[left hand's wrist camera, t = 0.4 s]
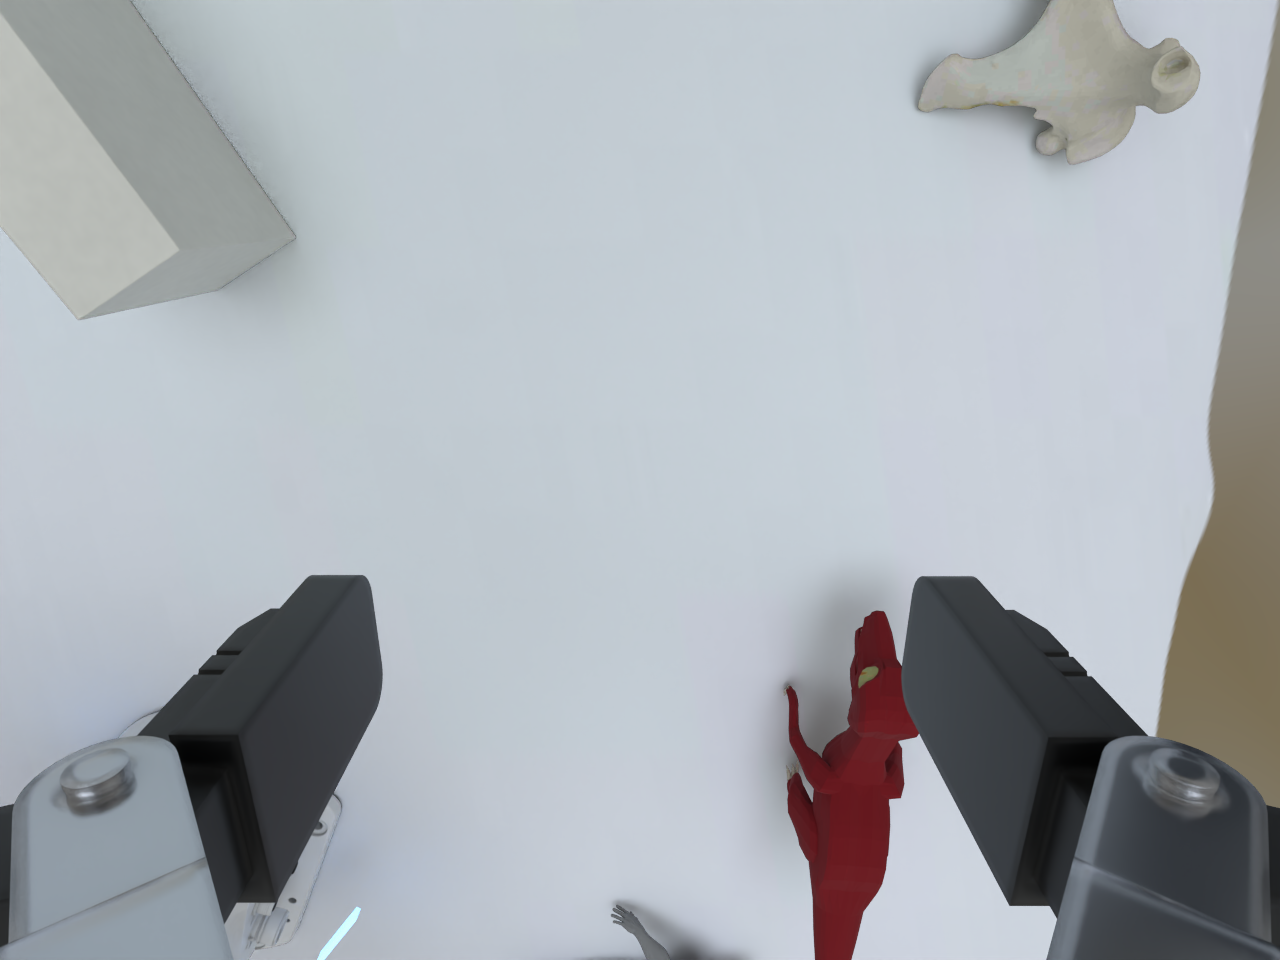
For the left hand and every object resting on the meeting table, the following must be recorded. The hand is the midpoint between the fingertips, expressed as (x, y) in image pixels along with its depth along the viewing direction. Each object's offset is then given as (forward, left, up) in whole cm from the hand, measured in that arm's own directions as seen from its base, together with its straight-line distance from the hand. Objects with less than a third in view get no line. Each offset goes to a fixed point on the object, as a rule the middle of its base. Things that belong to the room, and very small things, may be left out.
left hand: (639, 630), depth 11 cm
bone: (-13, +20, -34) cm, 42 cm away
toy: (+30, +13, -34) cm, 47 cm away
